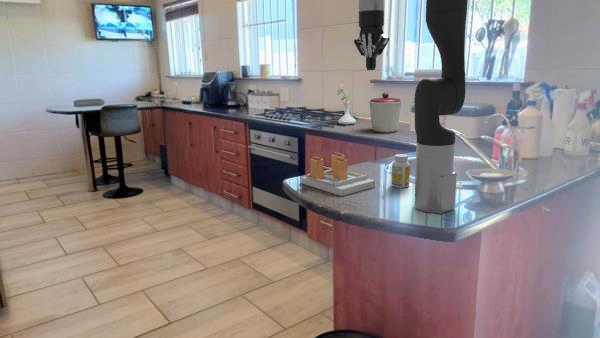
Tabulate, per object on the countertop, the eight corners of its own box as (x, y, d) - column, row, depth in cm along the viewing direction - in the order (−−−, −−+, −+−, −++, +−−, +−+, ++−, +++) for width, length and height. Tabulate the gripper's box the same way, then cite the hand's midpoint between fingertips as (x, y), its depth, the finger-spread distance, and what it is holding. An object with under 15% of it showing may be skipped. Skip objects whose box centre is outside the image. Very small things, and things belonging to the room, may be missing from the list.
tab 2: (344, 172, 142) (344, 153, 140) (337, 174, 140) (337, 154, 138) (338, 171, 144) (338, 151, 142) (331, 172, 142) (331, 153, 141)
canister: (407, 130, 237) (409, 91, 232) (390, 135, 224) (390, 94, 219) (379, 128, 249) (380, 91, 244) (361, 132, 236) (361, 93, 231)
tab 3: (347, 178, 134) (347, 158, 133) (340, 180, 133) (340, 159, 131) (340, 176, 137) (340, 156, 135) (333, 178, 135) (333, 158, 133)
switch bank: (374, 186, 133) (375, 176, 132) (341, 196, 125) (341, 184, 124) (333, 175, 148) (333, 165, 147) (301, 183, 140) (301, 172, 139)
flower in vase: (346, 122, 276) (346, 82, 270) (360, 124, 267) (360, 82, 261) (332, 124, 268) (331, 83, 262) (345, 126, 259) (345, 84, 253)
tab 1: (323, 177, 136) (323, 157, 135) (316, 179, 135) (316, 158, 133) (317, 175, 139) (317, 155, 137) (310, 177, 137) (309, 157, 135)
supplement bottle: (394, 188, 131) (395, 157, 128) (389, 183, 136) (389, 154, 134) (411, 187, 131) (412, 156, 129) (405, 183, 136) (406, 153, 134)
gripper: (397, 8, 125) (395, 69, 130) (364, 13, 136) (363, 69, 140) (379, 7, 121) (378, 70, 125) (346, 12, 131) (346, 70, 135)
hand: (370, 70), depth 132 cm, fingers closed
